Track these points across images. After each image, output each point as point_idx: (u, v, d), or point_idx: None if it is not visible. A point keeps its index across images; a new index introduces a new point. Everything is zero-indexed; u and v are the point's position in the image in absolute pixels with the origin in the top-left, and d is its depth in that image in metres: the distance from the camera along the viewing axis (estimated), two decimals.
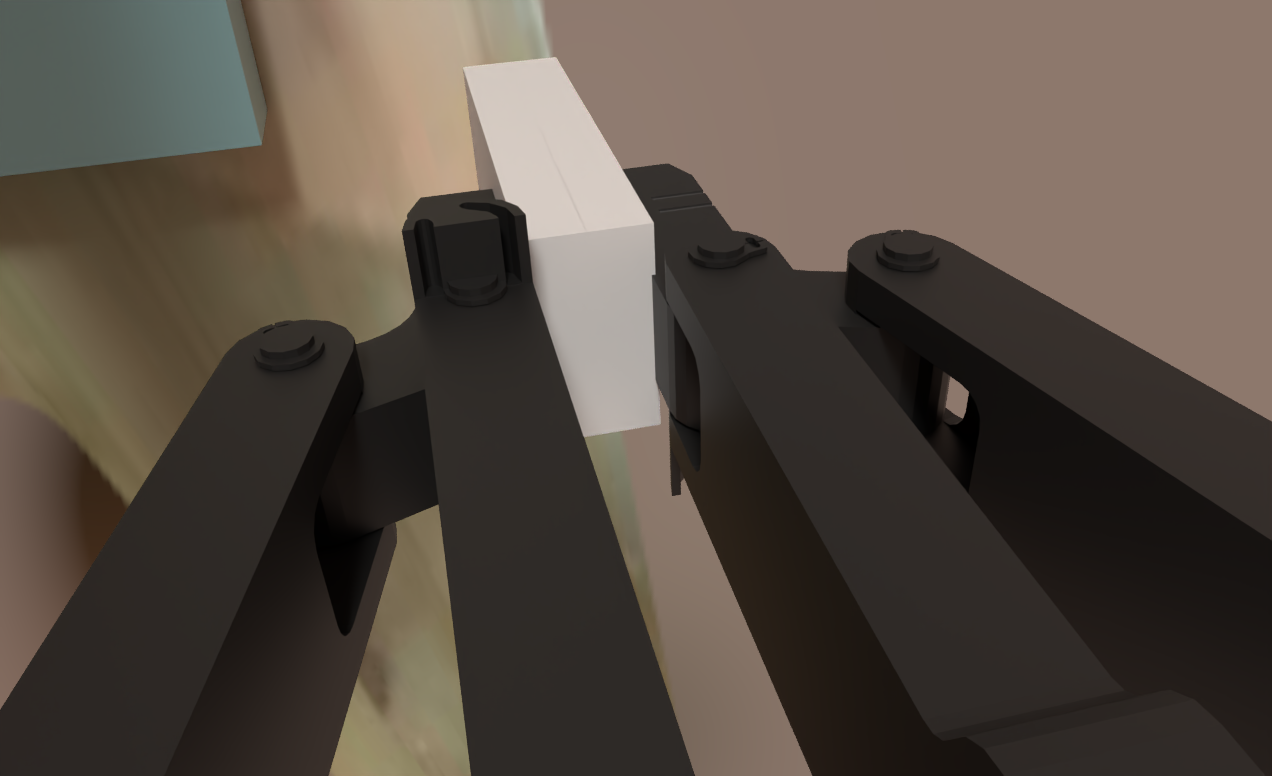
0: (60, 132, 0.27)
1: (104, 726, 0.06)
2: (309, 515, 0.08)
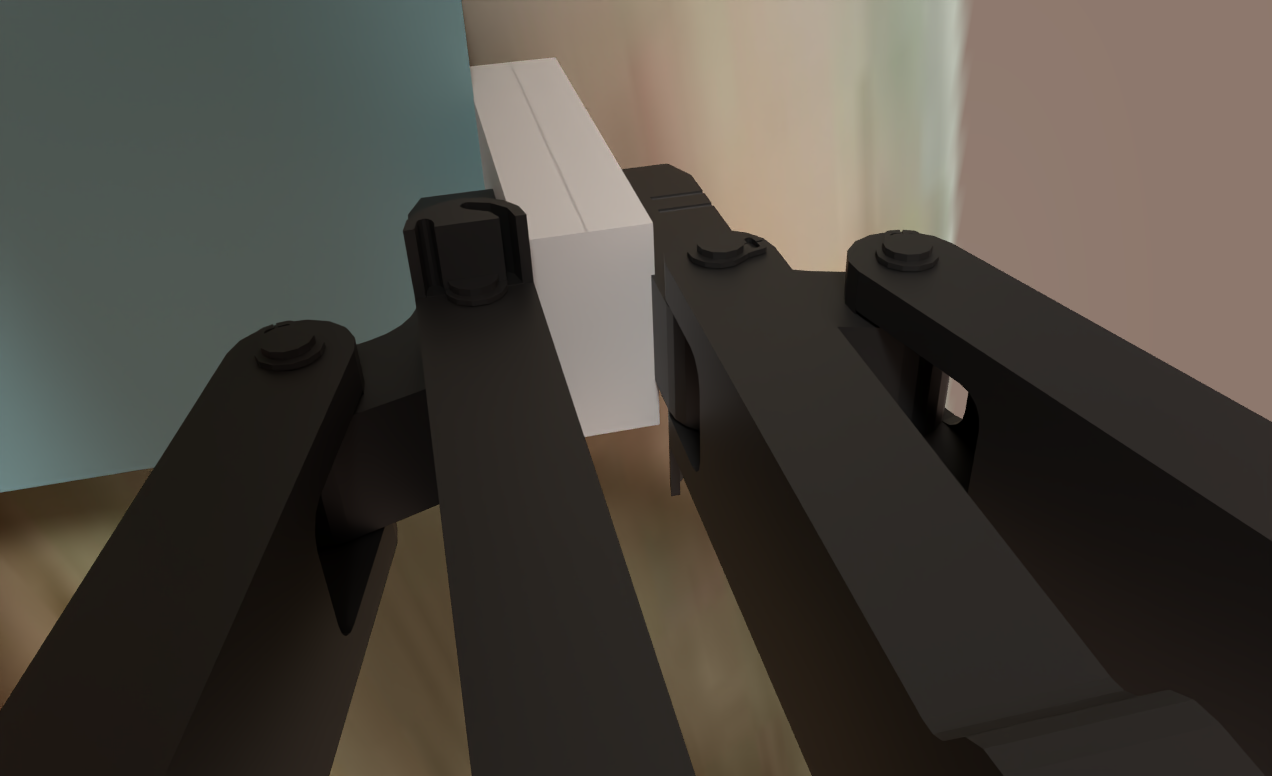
0: None
1: (104, 726, 0.06)
2: (309, 515, 0.08)
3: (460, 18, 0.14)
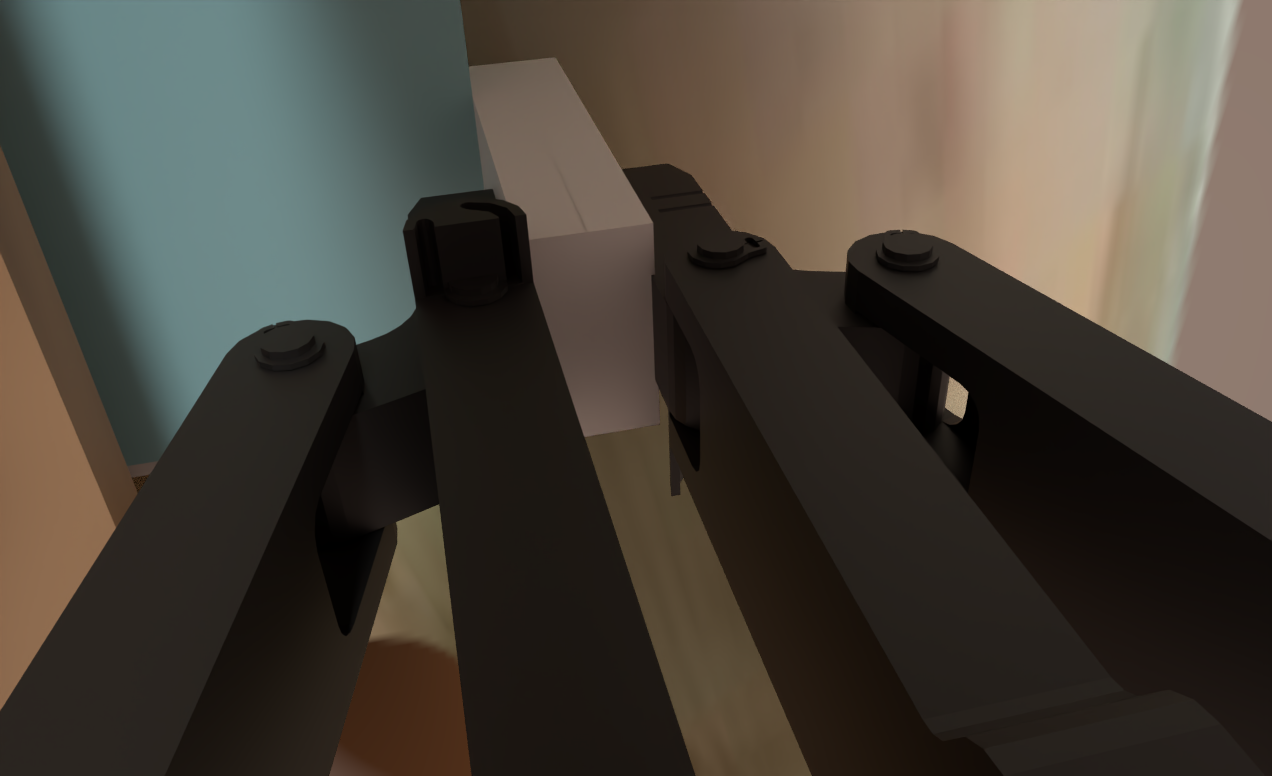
0: None
1: (104, 727, 0.06)
2: (309, 515, 0.08)
3: (459, 14, 0.15)
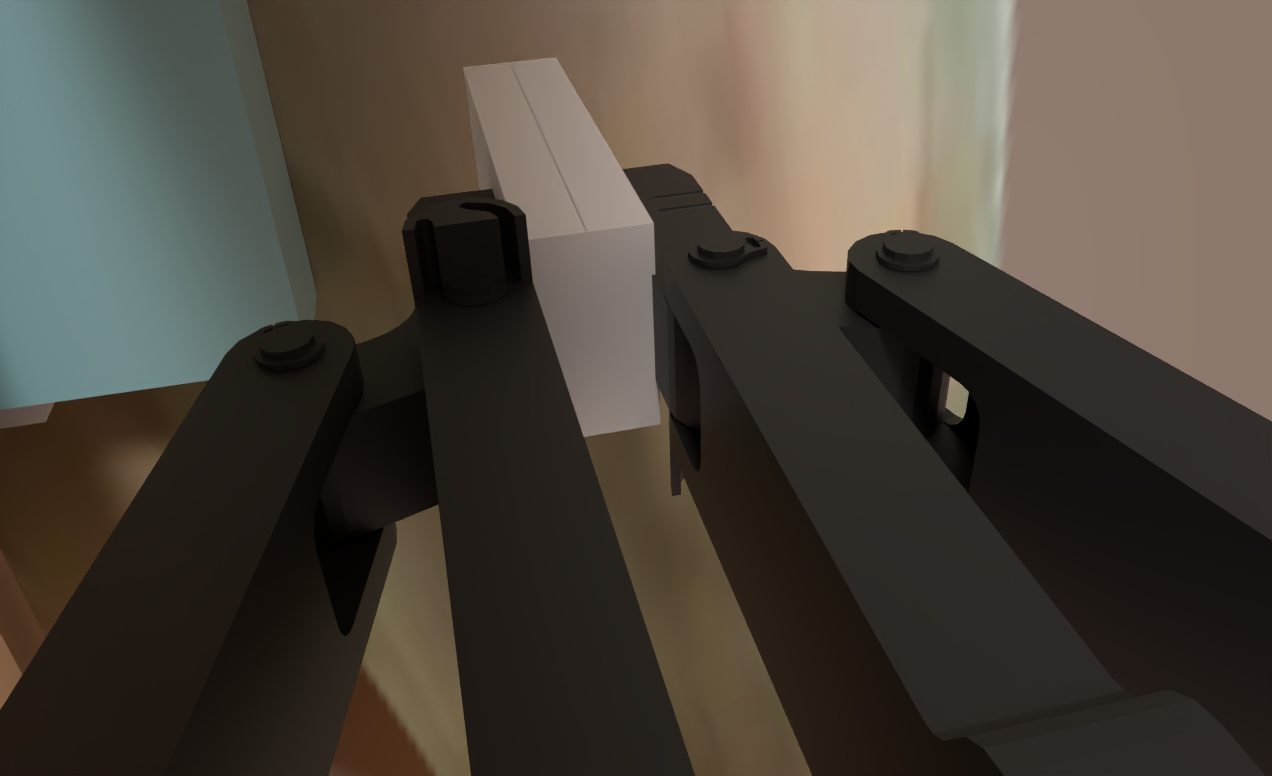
0: (20, 359, 0.19)
1: (104, 726, 0.06)
2: (309, 515, 0.08)
3: (216, 8, 0.16)
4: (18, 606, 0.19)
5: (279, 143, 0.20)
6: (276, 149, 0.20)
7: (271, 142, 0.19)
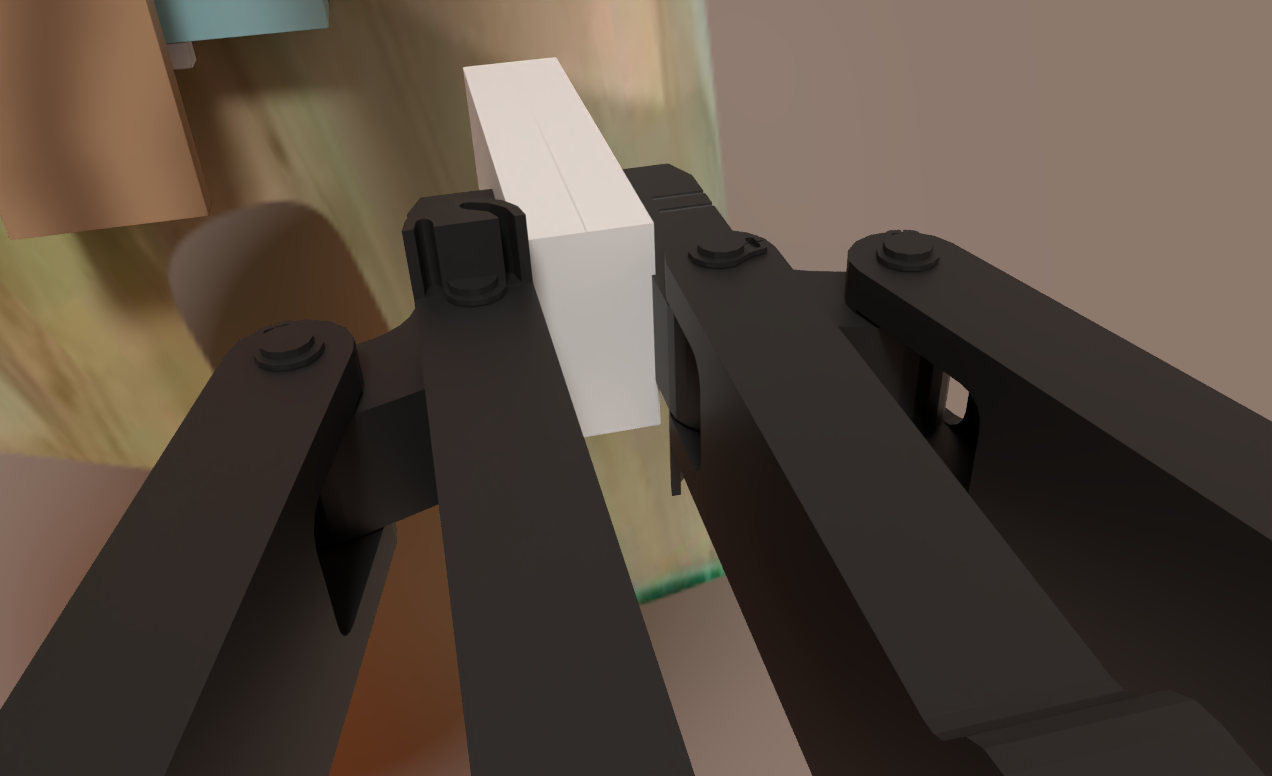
0: (191, 13, 0.39)
1: (104, 727, 0.06)
2: (309, 515, 0.08)
3: None
4: (190, 134, 0.40)
5: None
6: None
7: None
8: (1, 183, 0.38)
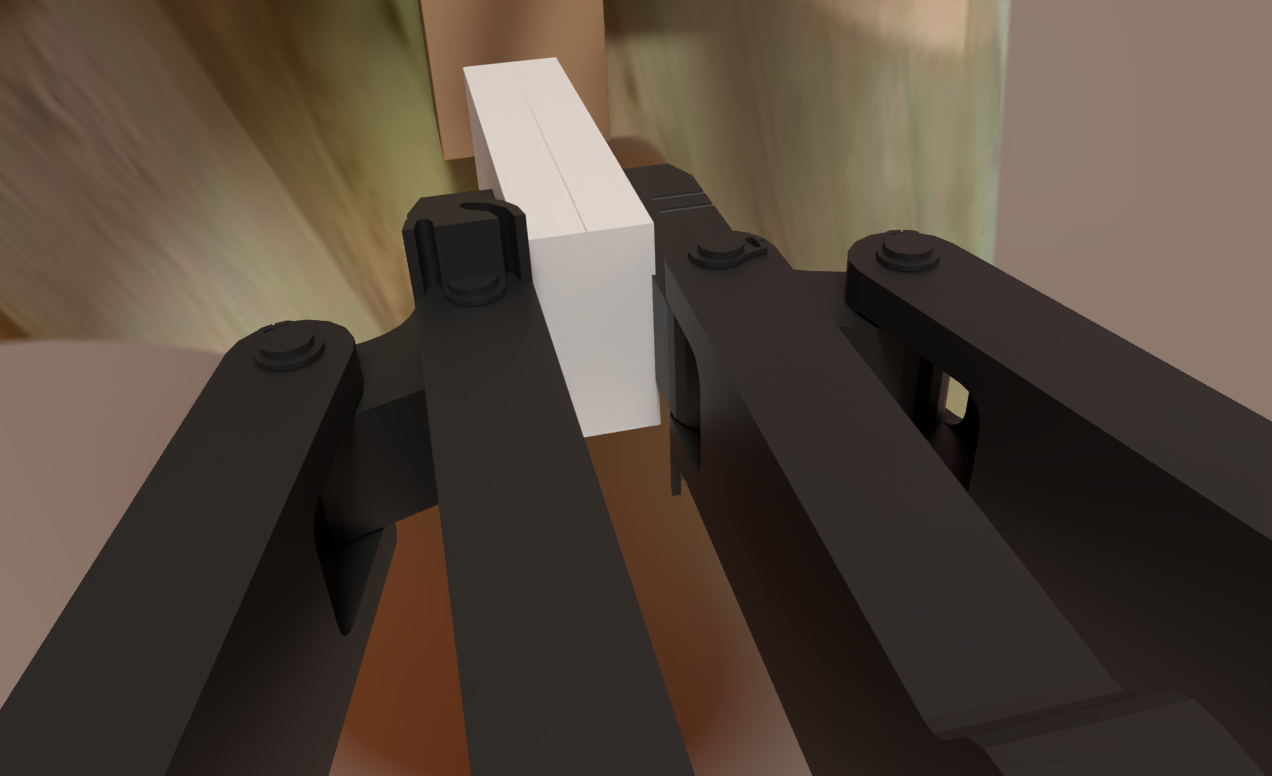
0: None
1: (102, 726, 0.06)
2: (309, 515, 0.08)
3: None
4: None
5: None
6: None
7: None
8: (447, 107, 0.43)
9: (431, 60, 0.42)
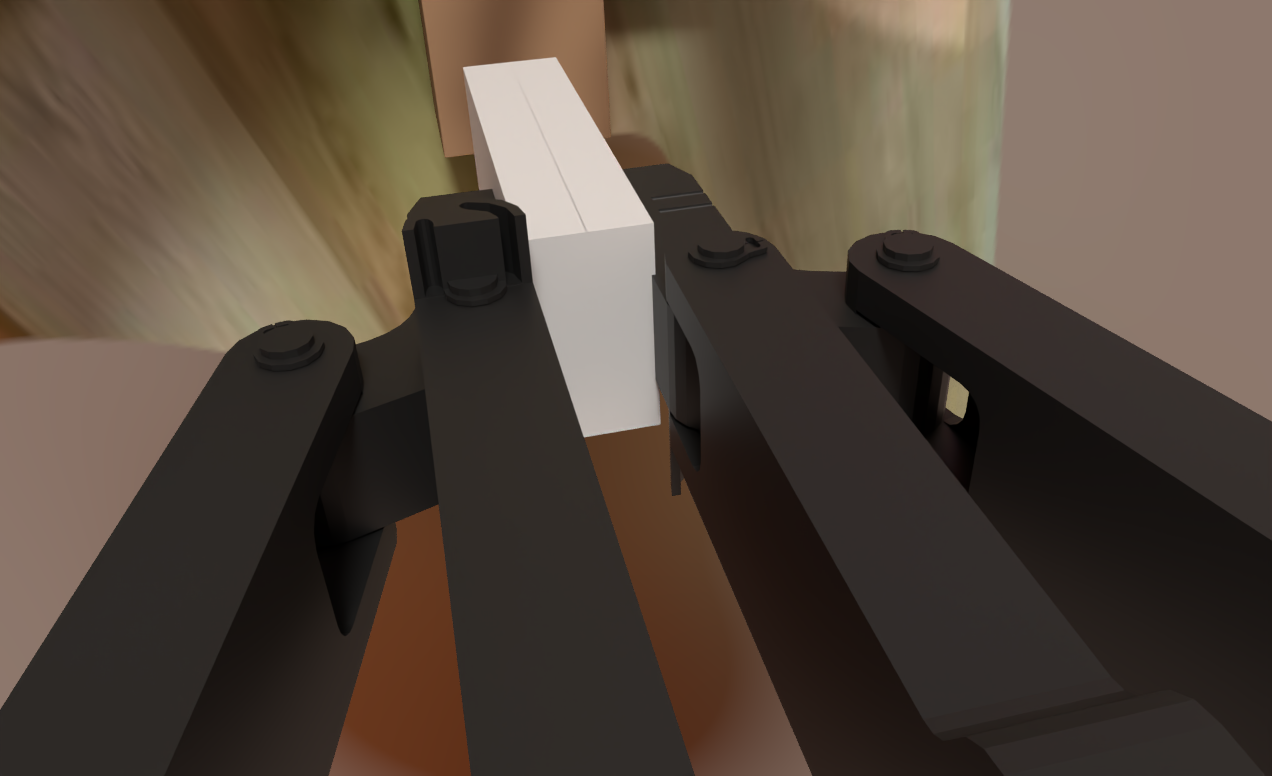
0: None
1: (104, 726, 0.06)
2: (309, 515, 0.08)
3: None
4: None
5: None
6: None
7: None
8: (448, 104, 0.43)
9: (431, 57, 0.42)
